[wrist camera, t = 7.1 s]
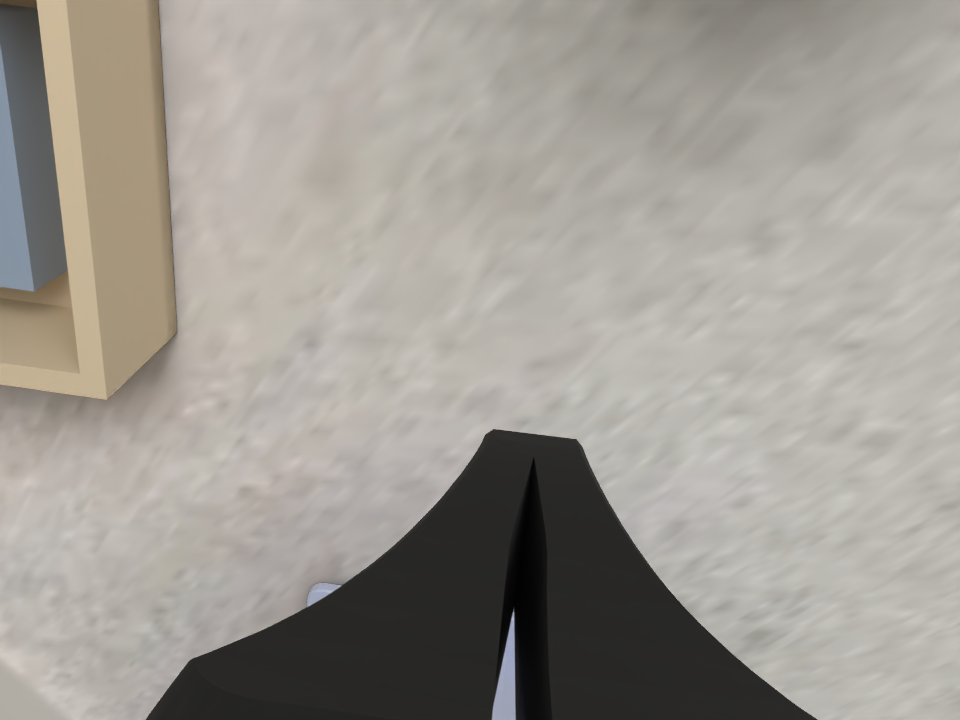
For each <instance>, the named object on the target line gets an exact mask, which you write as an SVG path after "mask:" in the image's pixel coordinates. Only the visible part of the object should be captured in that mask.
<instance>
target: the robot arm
mask: <svg viewBox="0 0 960 720" xmlns="http://www.w3.org/2000/svg"><path fill="white" fill-rule="evenodd" d="M513 609H514V612H513ZM146 720H817V719H816V718H814V717H813V716H811V715H810V714H808V713H807V712H805V711H804V710H802V709H801V708H799V707H798V706H796V705H795V704H794V703H792V702H791V701H790V700H788V699H787V698H786V697H784V696H783V695H782V694H781V693H779V692H778V691H777V690H775V689H774V688H773V687H772V686H770V685H769V684H768V683H767V682H765V681H764V680H763V679H761V678H760V677H759V676H758V675H756V674H755V673H754V672H753V671H751V670H750V669H749V668H748V667H747V666H746V665H744V664H743V663H742V662H741V661H740V660H739V659H737V658H736V657H735V656H734V655H733V654H732V653H730V652H729V651H728V650H727V649H726V648H725V647H724V646H723V645H722V644H721V643H720V642H719V641H718V640H717V639H716V638H715V637H713V636H712V635H711V634H710V633H709V632H708V631H707V630H706V629H705V628H704V627H703V626H702V625H701V624H700V623H699V622H698V621H697V620H696V619H695V618H694V617H693V616H692V615H691V614H690V613H689V612H688V611H687V610H686V609H685V608H684V607H683V606H682V605H681V603H680V602H679V601H678V600H677V599H676V598H675V596H674V595H673V594H672V593H671V592H670V591H669V590H668V588H667V587H666V586H665V585H664V583H663V582H662V581H661V580H660V578H659V577H658V576H657V575H656V573H655V572H654V571H653V569H652V568H651V567H650V565H649V564H648V563H647V561H646V560H645V558H644V557H643V555H642V554H641V553H640V551H639V550H638V548H637V547H636V546H635V544H634V543H633V541H632V540H631V538H630V537H629V535H628V533H627V532H626V530H625V529H624V527H623V526H622V524H621V522H620V521H619V519H618V517H617V516H616V514H615V512H614V511H613V509H612V507H611V505H610V504H609V502H608V500H607V498H606V497H605V495H604V493H603V491H602V489H601V487H600V485H599V483H598V481H597V479H596V477H595V475H594V473H593V471H592V469H591V467H590V465H589V462H588V460H587V458H586V455H585V453H584V450H583V447H582V446H581V445H580V443H579V442H578V441H577V439H569V438H561V437H553V436H545V435H537V434H529V433H520V432H512V431H504V430H496V429H493V430H492V431H490V432H489V433H487V434H486V435H485V437H484V439H483V441H482V443H481V445H480V447H479V448H478V450H477V452H476V453H475V455H474V456H473V458H472V459H471V461H470V462H469V464H468V465H467V466H466V468H465V469H464V471H463V472H462V473H461V475H460V476H459V477H458V478H457V480H456V481H455V482H454V483H453V484H452V486H451V487H450V488H449V489H448V491H447V492H446V493H445V494H444V496H443V497H442V498H441V499H440V500H439V501H438V502H437V504H436V505H435V506H434V507H433V508H432V509H431V510H430V511H429V512H428V513H427V514H426V515H425V516H424V517H423V518H422V519H421V520H420V521H419V522H418V523H417V524H416V525H415V526H414V527H413V528H412V529H411V530H410V531H409V532H408V533H407V534H406V535H405V536H404V537H403V538H402V539H401V540H400V541H398V542H397V543H396V544H395V545H394V546H393V547H392V548H391V549H389V550H388V551H387V552H386V553H385V554H383V555H382V556H381V557H380V558H378V559H377V560H376V561H375V562H374V563H372V564H371V565H370V566H368V567H367V568H366V569H364V570H363V571H361V572H360V573H359V574H357V575H356V576H355V577H353V578H352V579H350V580H349V581H348V582H346V583H345V584H343V585H342V586H341V585H335V584H328V583H318V584H316V585H314V586H313V587H312V588H311V589H310V591H309V594H308V597H307V608H305V609H303V610H301V611H299V612H298V613H296V614H294V615H292V616H290V617H288V618H286V619H284V620H282V621H280V622H278V623H276V624H274V625H272V626H270V627H268V628H266V629H264V630H262V631H260V632H257V633H255V634H253V635H250V636H248V637H245V638H243V639H241V640H238V641H236V642H233V643H231V644H228V645H226V646H224V647H221V648H219V649H216V650H214V651H212V652H209V653H207V654H204V655H201V656H199V657H196V658H193V659H191V660H190V661H189V662H188V663H187V665H186V666H185V667H184V669H183V670H182V671H181V672H180V674H179V675H178V676H177V678H176V679H175V680H174V682H173V683H172V684H171V686H170V687H169V688H168V690H167V691H166V692H165V694H164V695H163V697H162V698H161V699H160V701H159V702H158V703H157V705H156V706H155V707H154V709H153V710H152V711H151V713H150V714H149V716H148V717H147V719H146Z"/></svg>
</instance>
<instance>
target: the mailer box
mask: <svg viewBox="0 0 960 720" xmlns="http://www.w3.org/2000/svg"><path fill="white" fill-rule="evenodd" d="M176 333H177V320H176V303H175V285H174V268H173V250H172V233H171V216H170V198H169V181H168V164H167V146H166V129H165V111H164V94H163V77H162V59H161V42H160V25H159V7H158V0H0V384H1V385H8V386H15V387H22V388H28V389H35V390H42V391H49V392H56V393H63V394H70V395H77V396H84V397H91V398H98V399H105V400H107V399H108V398H109V397H110V396H111V395H112V394H114V393H115V392H116V391H117V390H118V389H119V388H120V387H121V386H122V385H123V384H124V383H125V382H126V381H127V380H128V379H129V378H130V377H131V376H132V375H133V374H134V373H135V372H136V371H137V370H138V369H139V368H141V367H142V366H143V365H144V364H145V363H146V362H147V361H148V360H149V359H150V358H151V357H152V356H153V355H154V354H155V353H156V352H157V351H158V350H159V349H160V348H161V347H162V346H163V345H164V344H165V343H167V342H168V341H169V340H170V339H171V338H172V337H173V336H174V335H175V334H176Z"/></svg>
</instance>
